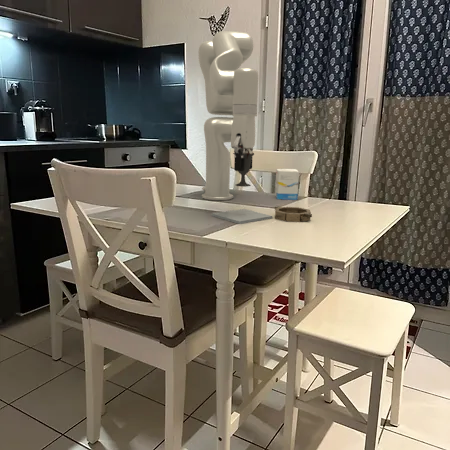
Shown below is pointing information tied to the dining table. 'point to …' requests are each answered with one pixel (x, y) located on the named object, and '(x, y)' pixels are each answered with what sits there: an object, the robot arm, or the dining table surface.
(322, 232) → the dining table surface
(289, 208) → the collar
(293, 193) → the ink box
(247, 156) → the sundae
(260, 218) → the plate
